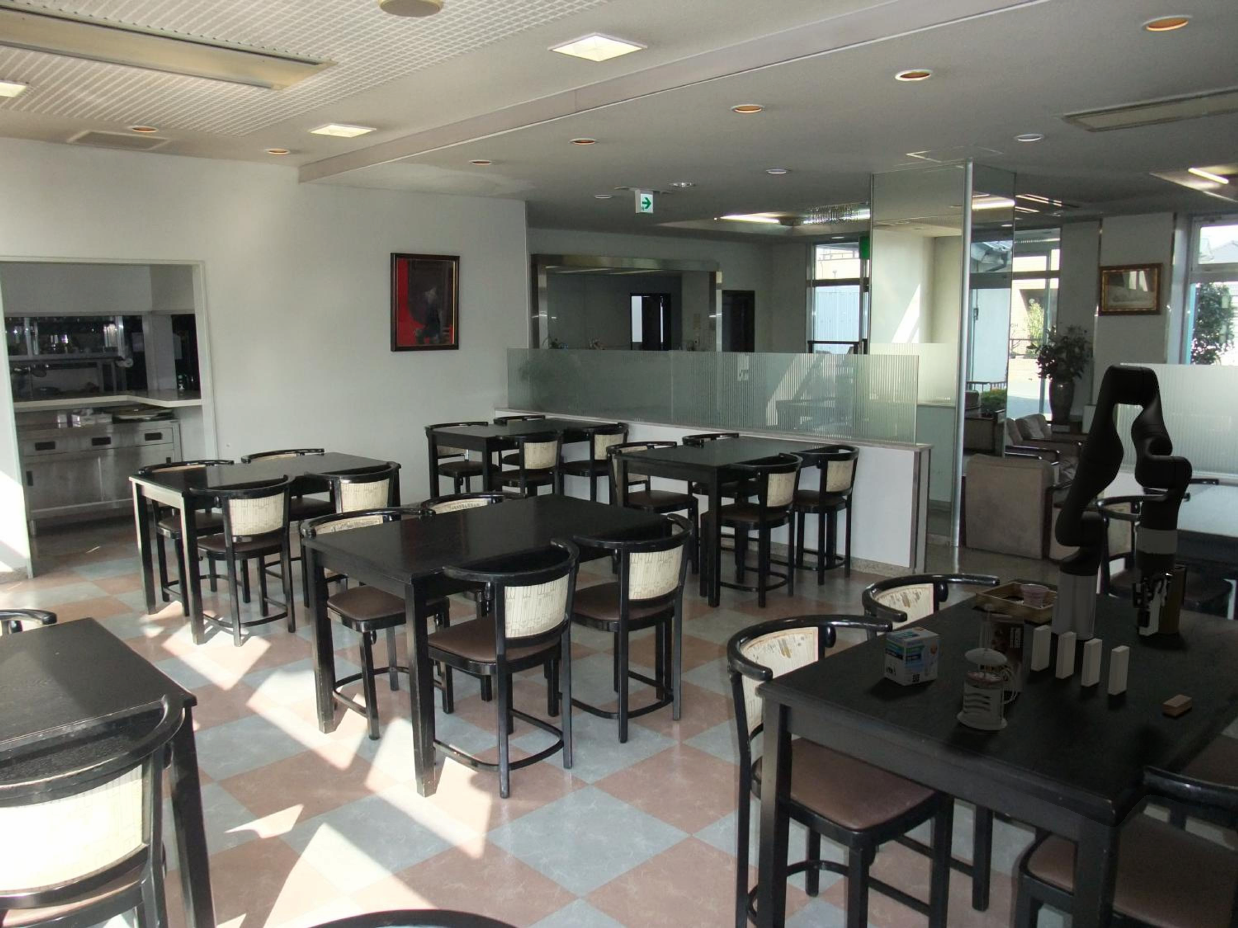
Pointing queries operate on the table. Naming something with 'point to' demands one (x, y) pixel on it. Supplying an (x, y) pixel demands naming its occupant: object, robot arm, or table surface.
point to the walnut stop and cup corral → (1044, 615)
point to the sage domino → (1152, 617)
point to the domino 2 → (1065, 655)
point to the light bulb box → (911, 656)
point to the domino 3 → (1091, 662)
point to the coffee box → (1004, 646)
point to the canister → (1173, 602)
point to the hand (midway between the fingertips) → (1149, 623)
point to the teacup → (1034, 595)
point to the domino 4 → (1118, 670)
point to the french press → (985, 689)
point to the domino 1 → (1041, 647)
